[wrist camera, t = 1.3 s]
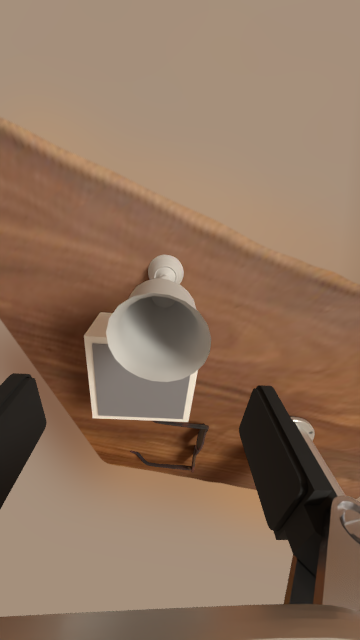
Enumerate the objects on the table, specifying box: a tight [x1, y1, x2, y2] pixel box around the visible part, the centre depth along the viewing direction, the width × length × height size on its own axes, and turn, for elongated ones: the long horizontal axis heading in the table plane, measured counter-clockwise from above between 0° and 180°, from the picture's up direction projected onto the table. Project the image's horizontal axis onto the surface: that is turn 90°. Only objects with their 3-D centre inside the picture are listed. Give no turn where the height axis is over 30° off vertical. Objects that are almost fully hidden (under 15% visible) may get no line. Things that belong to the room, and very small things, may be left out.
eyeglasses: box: [130, 420, 209, 472], centre depth 45 cm, size 15×15×5 cm
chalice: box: [106, 255, 211, 382], centre depth 23 cm, size 7×7×18 cm
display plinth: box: [84, 312, 198, 422], centre depth 34 cm, size 15×15×7 cm
